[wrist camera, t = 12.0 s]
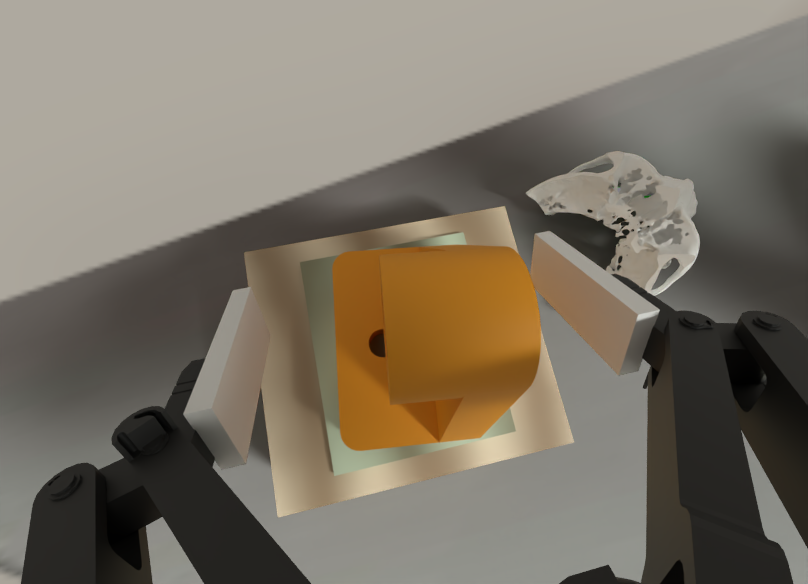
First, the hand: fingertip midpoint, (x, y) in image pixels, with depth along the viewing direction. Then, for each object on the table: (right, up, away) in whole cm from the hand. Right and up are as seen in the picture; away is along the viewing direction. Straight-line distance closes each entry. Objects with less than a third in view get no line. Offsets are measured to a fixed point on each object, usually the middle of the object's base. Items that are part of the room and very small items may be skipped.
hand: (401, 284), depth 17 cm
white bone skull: (+18, +4, +15) cm, 24 cm away
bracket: (0, -4, +6) cm, 7 cm away
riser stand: (0, -5, +12) cm, 13 cm away
